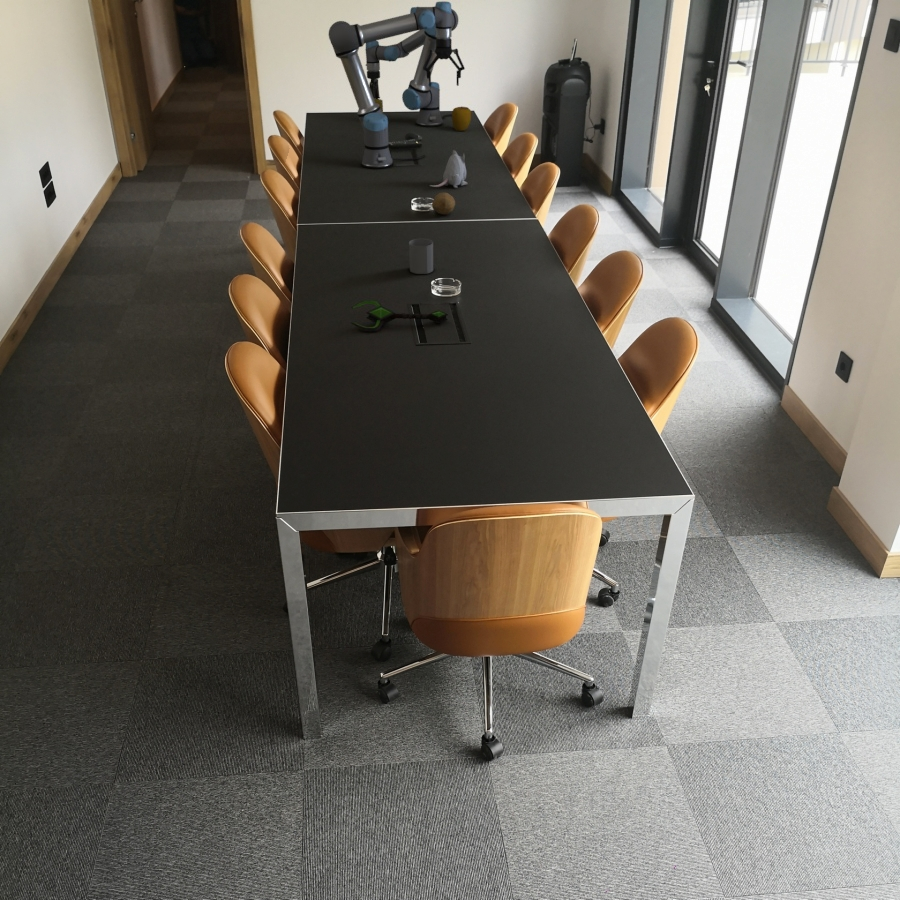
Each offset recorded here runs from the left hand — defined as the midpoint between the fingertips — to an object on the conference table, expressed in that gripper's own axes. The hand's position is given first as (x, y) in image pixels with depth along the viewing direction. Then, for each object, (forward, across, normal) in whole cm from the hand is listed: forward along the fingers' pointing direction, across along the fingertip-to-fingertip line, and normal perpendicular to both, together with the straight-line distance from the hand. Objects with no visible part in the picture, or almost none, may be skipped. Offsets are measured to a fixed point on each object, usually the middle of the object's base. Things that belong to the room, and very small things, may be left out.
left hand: (443, 85), depth 426 cm
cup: (+34, +20, +160) cm, 165 cm away
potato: (+34, +7, +96) cm, 102 cm away
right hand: (+28, +34, -80) cm, 91 cm away
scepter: (+34, +29, +205) cm, 210 cm away
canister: (+34, +34, -80) cm, 93 cm away
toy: (+34, +3, +59) cm, 68 cm away
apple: (+34, -14, -55) cm, 66 cm away
